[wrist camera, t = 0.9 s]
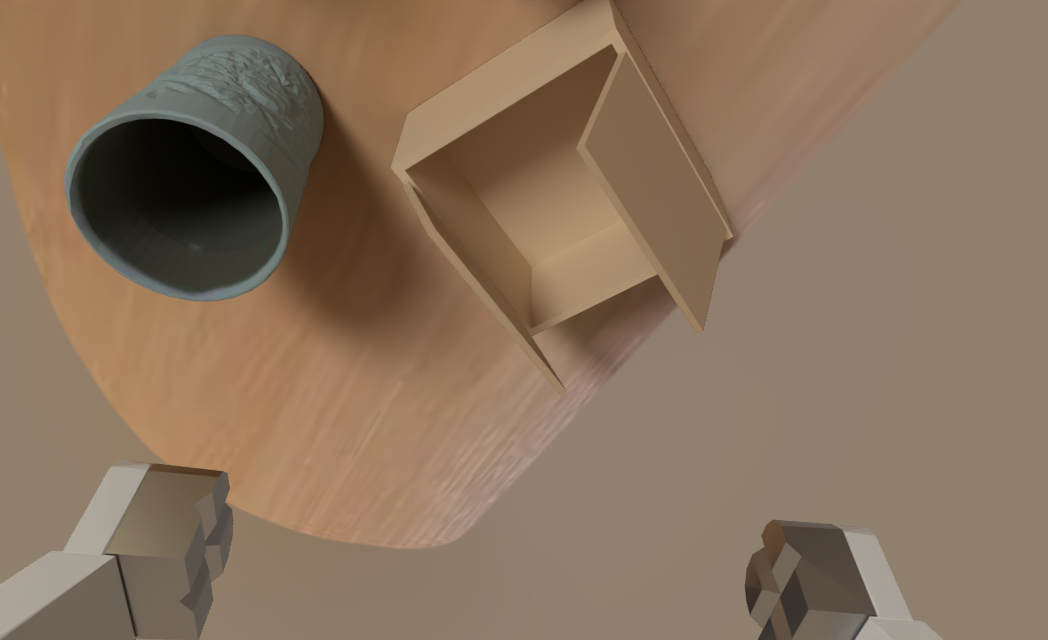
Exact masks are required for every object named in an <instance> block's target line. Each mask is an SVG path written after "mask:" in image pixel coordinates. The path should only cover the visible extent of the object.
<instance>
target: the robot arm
mask: <svg viewBox="0 0 1048 640" xmlns="http://www.w3.org/2000/svg"><path fill="white" fill-rule="evenodd" d="M229 490H230V486H229V480H228V473H226V472H224V471H216V470H207V469H199V468H190V467H181V466H173V465H164V464H152V463H142V462H133V461H124V460H118V461H117V462H116V463H115V464H114V465H113V466H112V467H110V468H109V470H108V472H107V473H106V475H105V477H104V479H103V480H102V482H101V484H100V486H99V488H98V489H97V491H96V493H95V495H94V496H93V498H92V500H91V502H90V503H89V506H88V507H87V509H86V511H85V512H84V515H83V516H82V518H81V520H80V521H79V523H78V525H77V527H76V528H75V530H74V532H73V534H72V535H71V537H70V539H69V541H68V542H67V544H66V546H65V548H64V550H63V551H50V552H49V553H47V554H46V555H44V556H43V557H41V558H40V559H38V560H36V561H35V562H33V563H32V564H30V565H29V566H27V567H26V568H24V569H23V570H21V571H20V572H18V573H17V574H15V575H14V576H12V577H10V578H9V579H8V580H6V581H4V582H3V583H1V584H0V640H136V639H135V638H144V639H166V640H199V638H200V635H201V632H202V629H203V626H204V624H205V621H206V618H207V615H208V613H209V610H210V607H211V605H212V602H213V595H212V587H211V582H212V581H213V580H215V579H216V578H217V577H219V576H220V575H221V574H222V573H223V571H224V568H225V565H226V562H227V559H228V556H229V551H230V546H231V541H232V535H233V513H232V509H231V508H230V507H229V506H228V505H227V504H226V503H225V500H226V498H227V495H228V492H229ZM762 539H763V543H764V546H765V547H764V548H762V549H760V550H759V551H757V552H756V553H754V554H753V555H752V557H751V559H750V562H749V564H748V567H747V571H746V581H745V592H746V601H747V605H748V609H749V614H750V616H751V617H752V618H753V619H754V620H755V621H756V622H757V623H758V624H759V625H760V626H761V627H762V629H763V631H762V633H761V635H760V637H759V639H758V640H944V639H943V638H942V637H941V636H939V635H938V634H937V633H936V632H935V631H934V630H933V629H932V628H930V627H929V626H928V625H927V624H926V623H925V622H924V621H918V620H914V619H913V617H912V615H911V613H910V611H909V608H908V606H907V604H906V602H905V600H904V597H903V595H902V593H901V591H900V589H899V586H898V584H897V582H896V580H895V578H894V575H893V573H892V571H891V569H890V567H889V564H888V562H887V560H886V558H885V555H884V553H883V551H882V549H881V547H880V545H879V542H878V540H877V538H876V536H875V534H874V533H873V532H872V531H871V530H870V529H869V528H865V527H853V526H841V525H835V526H834V525H832V524H821V523H808V522H796V521H783V520H772V521H771V522H769V523H768V524H767V525H766V527H765V529H764V531H763V533H762Z"/></svg>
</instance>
